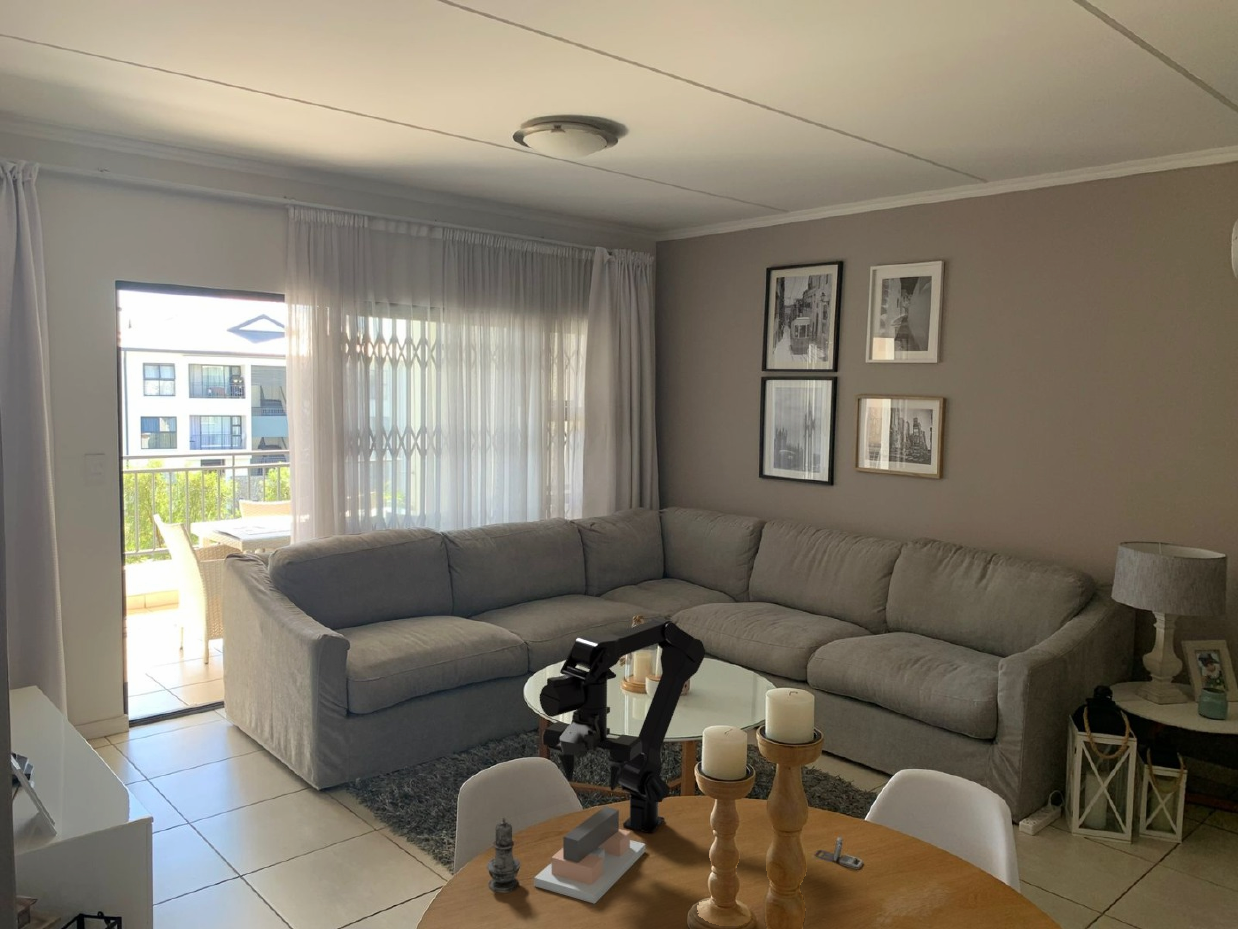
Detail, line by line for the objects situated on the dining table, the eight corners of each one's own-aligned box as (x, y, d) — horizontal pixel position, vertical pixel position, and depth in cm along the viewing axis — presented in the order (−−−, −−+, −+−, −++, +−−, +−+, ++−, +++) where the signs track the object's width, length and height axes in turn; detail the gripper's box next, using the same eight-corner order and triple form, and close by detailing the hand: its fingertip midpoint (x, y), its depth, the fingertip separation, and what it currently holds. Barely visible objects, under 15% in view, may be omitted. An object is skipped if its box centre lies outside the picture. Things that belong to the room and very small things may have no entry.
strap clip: (863, 864, 168) (864, 842, 168) (858, 871, 165) (859, 849, 165) (819, 852, 172) (819, 830, 172) (813, 858, 170) (814, 836, 169)
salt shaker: (514, 895, 156) (514, 827, 155) (482, 891, 157) (481, 824, 156) (525, 877, 162) (525, 812, 161) (493, 874, 163) (493, 809, 162)
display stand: (589, 837, 177) (589, 814, 176) (645, 851, 171) (645, 828, 171) (534, 886, 159) (534, 861, 158) (594, 903, 153) (594, 878, 153)
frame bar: (604, 826, 171) (605, 806, 171) (618, 830, 170) (618, 810, 170) (563, 858, 159) (563, 836, 159) (577, 863, 158) (577, 841, 158)
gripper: (526, 709, 168) (526, 791, 169) (616, 726, 160) (615, 812, 161) (557, 692, 178) (557, 770, 179) (643, 707, 170) (642, 789, 171)
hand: (591, 785), depth 172 cm, fingers open, 9 cm apart
